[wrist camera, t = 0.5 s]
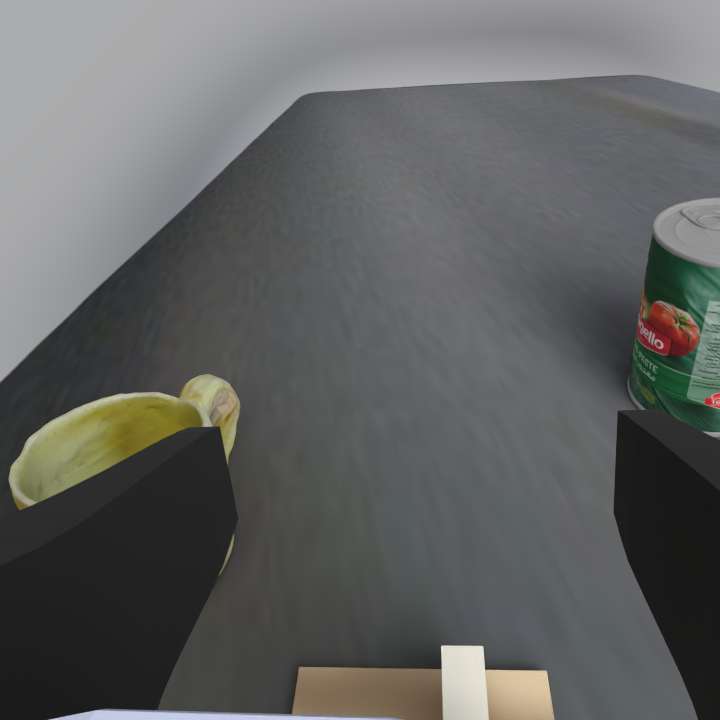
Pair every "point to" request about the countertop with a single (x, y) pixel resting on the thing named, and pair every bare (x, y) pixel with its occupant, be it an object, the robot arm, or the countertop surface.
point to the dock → (415, 693)
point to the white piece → (464, 683)
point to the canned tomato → (681, 318)
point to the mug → (117, 435)
